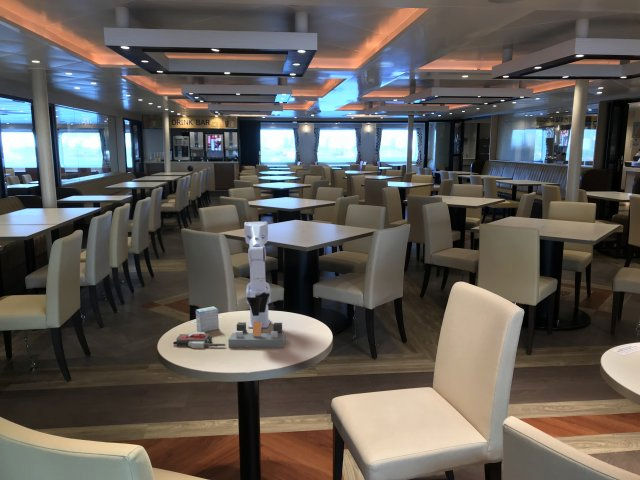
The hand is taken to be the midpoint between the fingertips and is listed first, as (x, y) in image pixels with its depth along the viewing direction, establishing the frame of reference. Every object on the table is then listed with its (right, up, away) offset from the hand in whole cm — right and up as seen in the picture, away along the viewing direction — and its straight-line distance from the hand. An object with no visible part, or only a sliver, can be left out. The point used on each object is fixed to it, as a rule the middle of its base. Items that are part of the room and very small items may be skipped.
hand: (259, 314), depth 198 cm
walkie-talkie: (-21, -11, -3) cm, 24 cm away
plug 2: (+7, -9, +4) cm, 12 cm away
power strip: (0, -11, -4) cm, 11 cm away
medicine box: (-22, -8, +12) cm, 27 cm away
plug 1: (-7, -9, +5) cm, 12 cm away
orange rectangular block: (0, -8, -5) cm, 9 cm away
